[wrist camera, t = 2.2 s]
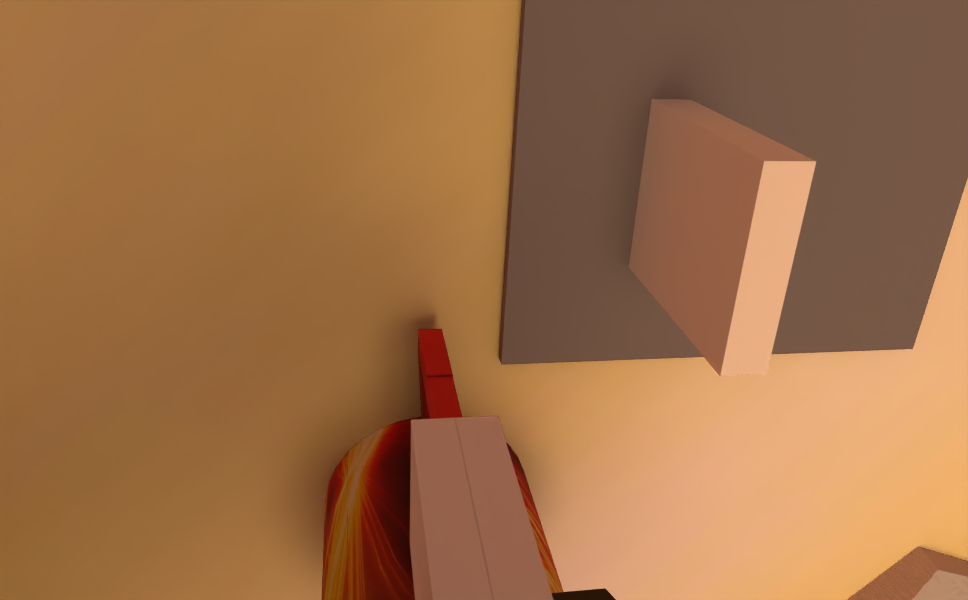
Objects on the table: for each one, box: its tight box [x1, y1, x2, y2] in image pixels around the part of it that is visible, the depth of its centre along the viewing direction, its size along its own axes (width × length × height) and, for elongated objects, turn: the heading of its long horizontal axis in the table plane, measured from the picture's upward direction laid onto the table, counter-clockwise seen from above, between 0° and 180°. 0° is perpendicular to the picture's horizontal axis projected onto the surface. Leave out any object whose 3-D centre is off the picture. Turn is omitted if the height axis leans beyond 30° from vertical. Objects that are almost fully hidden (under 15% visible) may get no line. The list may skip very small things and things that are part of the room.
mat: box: [499, 0, 968, 365], centre depth 32 cm, size 20×16×1 cm
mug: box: [322, 329, 563, 600], centre depth 31 cm, size 10×14×12 cm
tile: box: [629, 99, 816, 376], centre depth 27 cm, size 2×7×9 cm, turn 177°
